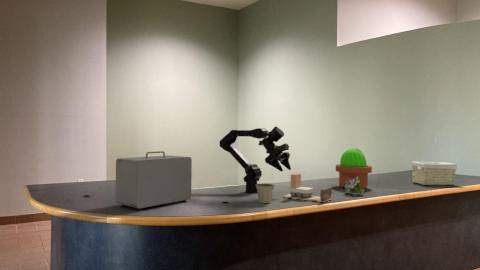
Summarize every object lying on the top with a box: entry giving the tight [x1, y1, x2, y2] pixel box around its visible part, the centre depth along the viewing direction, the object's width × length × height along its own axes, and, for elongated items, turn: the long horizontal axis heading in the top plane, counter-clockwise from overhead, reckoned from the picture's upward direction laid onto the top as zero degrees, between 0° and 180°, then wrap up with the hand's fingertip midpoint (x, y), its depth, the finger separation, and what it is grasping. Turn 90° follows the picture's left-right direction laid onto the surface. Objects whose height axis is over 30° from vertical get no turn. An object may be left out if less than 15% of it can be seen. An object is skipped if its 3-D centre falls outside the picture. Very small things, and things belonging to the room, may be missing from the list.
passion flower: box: [344, 177, 368, 196], centre depth 211 cm, size 11×11×12 cm
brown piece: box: [289, 173, 315, 198], centre depth 196 cm, size 10×8×11 cm
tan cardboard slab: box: [282, 186, 333, 203], centre depth 195 cm, size 23×10×6 cm, turn 56°
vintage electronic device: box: [115, 150, 193, 212], centre depth 178 cm, size 32×18×25 cm, turn 141°
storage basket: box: [411, 161, 458, 186], centre depth 255 cm, size 24×16×15 cm
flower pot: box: [256, 183, 276, 204], centre depth 184 cm, size 9×9×9 cm
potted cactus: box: [335, 148, 373, 190], centre depth 237 cm, size 22×22×25 cm
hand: (286, 170), depth 201 cm, fingers open, 9 cm apart
